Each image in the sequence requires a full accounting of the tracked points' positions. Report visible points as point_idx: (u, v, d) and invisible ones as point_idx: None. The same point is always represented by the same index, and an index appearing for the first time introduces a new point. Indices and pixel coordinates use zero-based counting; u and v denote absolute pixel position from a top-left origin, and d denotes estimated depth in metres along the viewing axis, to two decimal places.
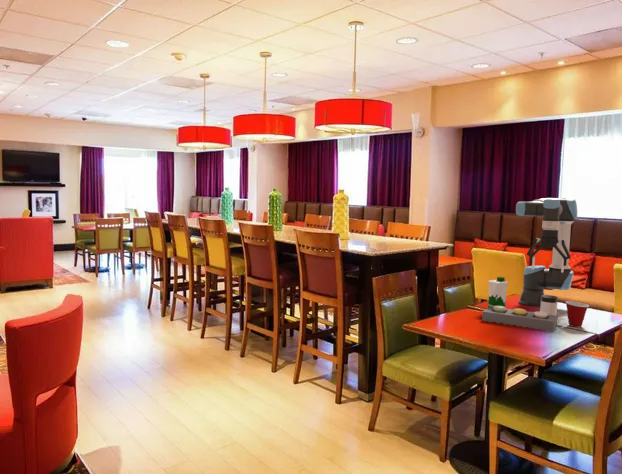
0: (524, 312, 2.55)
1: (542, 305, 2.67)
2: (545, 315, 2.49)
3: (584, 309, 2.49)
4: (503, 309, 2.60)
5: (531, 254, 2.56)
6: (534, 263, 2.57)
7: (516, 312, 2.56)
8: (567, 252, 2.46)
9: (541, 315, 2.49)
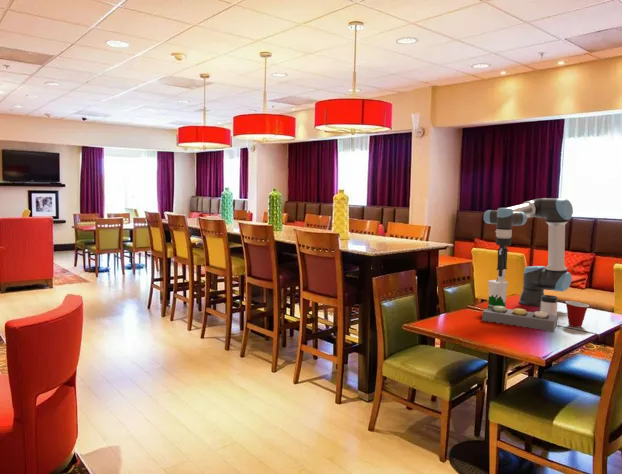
0: (524, 312, 2.55)
1: (542, 305, 2.67)
2: (545, 315, 2.49)
3: (584, 309, 2.49)
4: (503, 309, 2.60)
5: None
6: (503, 275, 2.62)
7: (516, 312, 2.56)
8: None
9: (541, 315, 2.49)
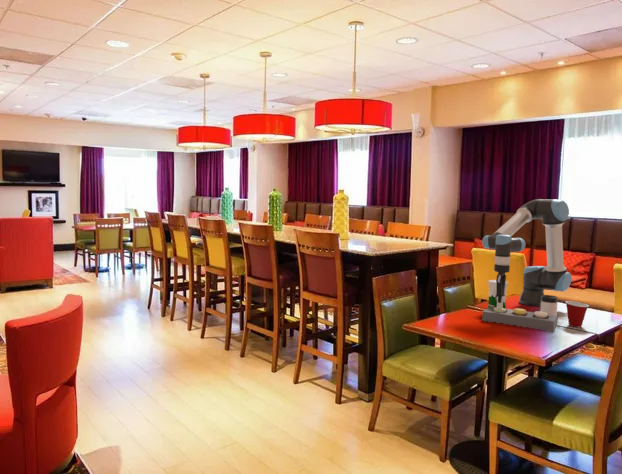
0: (524, 312, 2.55)
1: (542, 305, 2.67)
2: (545, 315, 2.49)
3: (584, 309, 2.49)
4: (503, 311, 2.60)
5: None
6: None
7: (516, 312, 2.56)
8: None
9: (541, 315, 2.49)
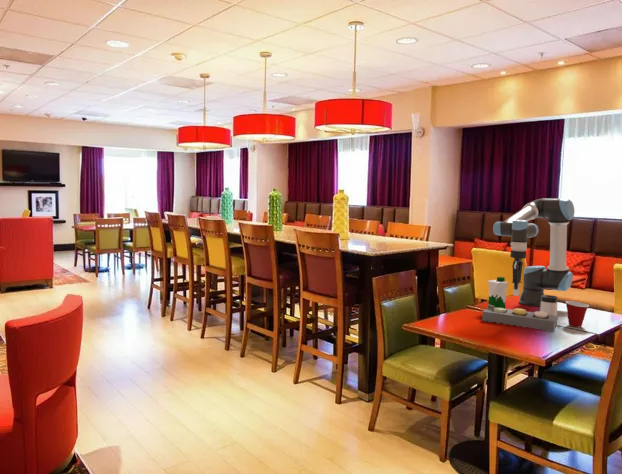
0: (524, 312, 2.55)
1: (542, 305, 2.67)
2: (545, 315, 2.49)
3: (584, 309, 2.49)
4: (503, 311, 2.60)
5: None
6: None
7: (516, 312, 2.56)
8: None
9: (541, 315, 2.49)
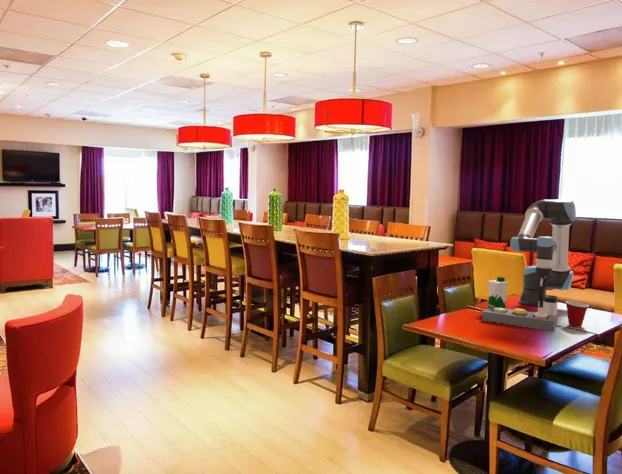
0: (524, 312, 2.55)
1: None
2: (545, 316, 2.49)
3: (584, 309, 2.49)
4: (503, 311, 2.60)
5: None
6: None
7: (516, 312, 2.56)
8: (538, 294, 2.48)
9: (541, 316, 2.49)
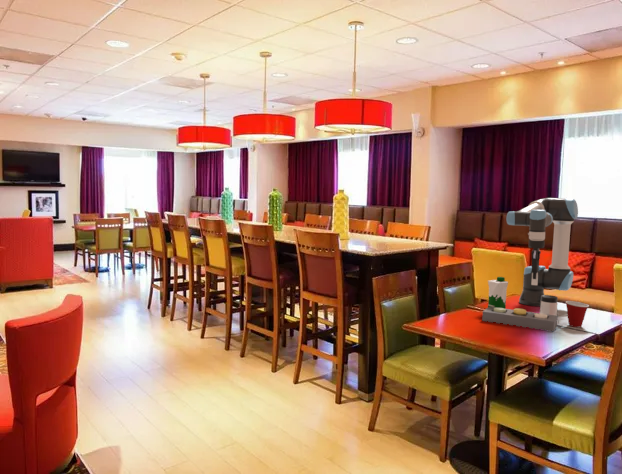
0: (524, 312, 2.55)
1: (542, 305, 2.67)
2: (545, 317, 2.49)
3: (584, 309, 2.49)
4: (503, 311, 2.60)
5: None
6: None
7: (516, 312, 2.56)
8: (531, 266, 2.54)
9: (541, 317, 2.49)
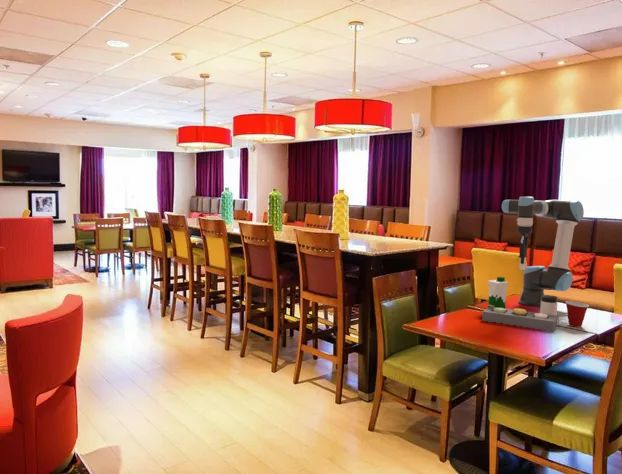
0: (524, 312, 2.55)
1: (542, 305, 2.67)
2: (545, 317, 2.49)
3: (584, 309, 2.49)
4: (503, 311, 2.60)
5: None
6: None
7: (516, 312, 2.56)
8: None
9: (541, 317, 2.49)
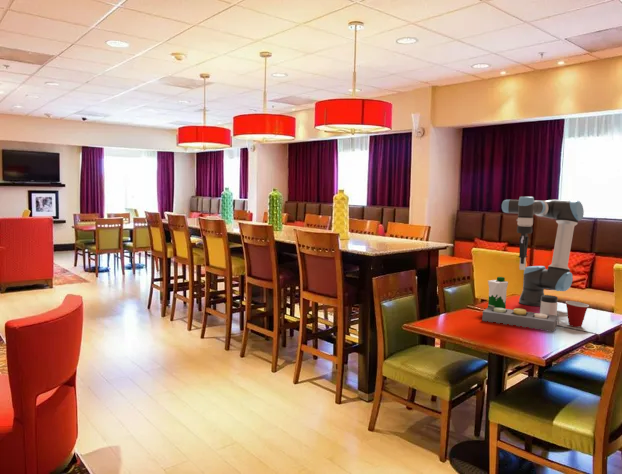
0: (524, 312, 2.55)
1: (542, 305, 2.67)
2: (545, 317, 2.49)
3: (584, 309, 2.49)
4: (503, 311, 2.60)
5: None
6: None
7: (516, 312, 2.56)
8: None
9: (541, 317, 2.49)
